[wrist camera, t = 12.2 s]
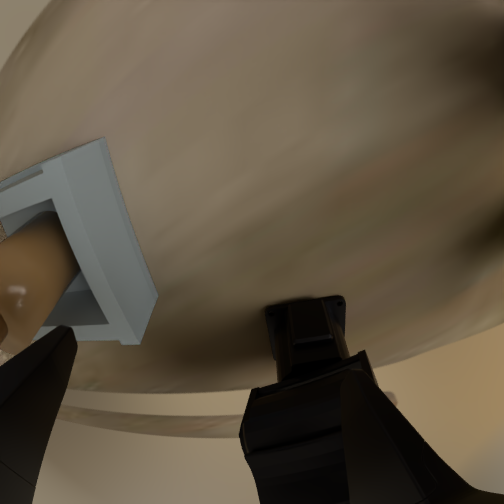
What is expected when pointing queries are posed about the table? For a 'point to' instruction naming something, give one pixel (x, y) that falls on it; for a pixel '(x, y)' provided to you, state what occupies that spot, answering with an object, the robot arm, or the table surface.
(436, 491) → the robot arm
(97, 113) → the table surface
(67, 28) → the table surface
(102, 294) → the u rest
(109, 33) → the table surface
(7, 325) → the amber bottle
